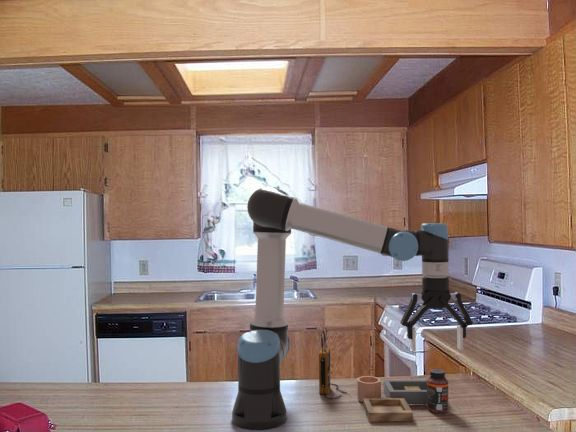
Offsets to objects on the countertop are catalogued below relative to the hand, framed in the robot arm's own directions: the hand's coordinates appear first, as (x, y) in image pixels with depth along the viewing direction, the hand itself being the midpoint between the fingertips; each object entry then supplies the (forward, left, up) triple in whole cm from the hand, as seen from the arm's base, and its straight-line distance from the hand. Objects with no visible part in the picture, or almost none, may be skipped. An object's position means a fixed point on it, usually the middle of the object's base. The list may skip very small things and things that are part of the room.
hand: (436, 349), depth 148 cm
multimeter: (-28, +15, -17) cm, 36 cm away
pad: (-5, +9, -15) cm, 18 cm away
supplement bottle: (0, -1, -17) cm, 18 cm away
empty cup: (-19, +8, -17) cm, 27 cm away
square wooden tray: (-15, -3, -17) cm, 23 cm away
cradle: (-5, +9, -17) cm, 20 cm away
